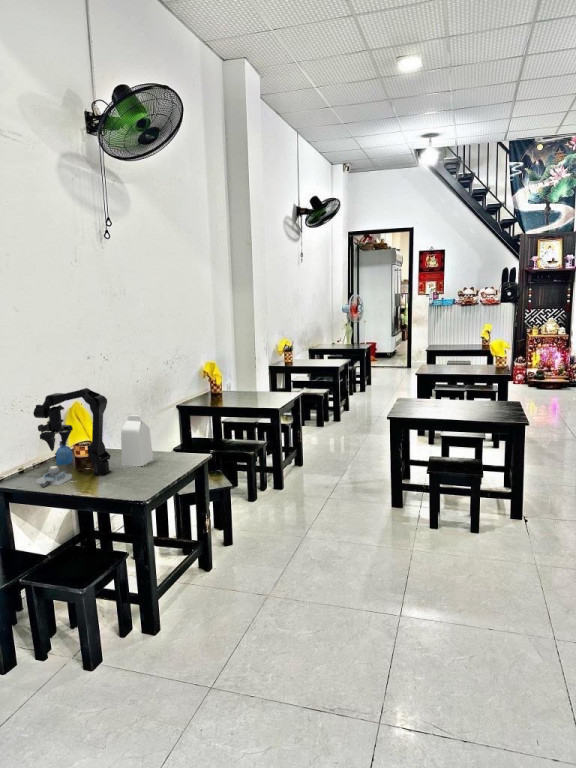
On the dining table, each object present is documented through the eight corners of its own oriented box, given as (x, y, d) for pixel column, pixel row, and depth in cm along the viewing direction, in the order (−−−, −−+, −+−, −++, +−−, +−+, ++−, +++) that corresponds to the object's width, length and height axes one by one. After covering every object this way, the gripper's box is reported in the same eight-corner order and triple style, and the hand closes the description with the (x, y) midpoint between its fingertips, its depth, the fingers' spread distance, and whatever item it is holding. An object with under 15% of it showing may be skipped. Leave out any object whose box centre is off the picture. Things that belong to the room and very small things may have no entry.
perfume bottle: (56, 464, 283) (54, 443, 281) (61, 461, 289) (59, 439, 287) (68, 464, 284) (66, 442, 281) (72, 460, 290) (70, 439, 288)
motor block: (72, 478, 262) (71, 470, 261) (53, 488, 249) (52, 480, 248) (50, 476, 265) (49, 469, 264) (31, 486, 251) (30, 478, 251)
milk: (121, 465, 280) (118, 417, 275) (134, 459, 290) (130, 412, 286) (141, 467, 276) (138, 418, 272) (153, 460, 287) (150, 413, 283)
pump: (61, 475, 260) (60, 465, 259) (55, 478, 256) (54, 468, 255) (53, 474, 261) (53, 465, 260) (47, 477, 257) (46, 467, 256)
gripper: (53, 413, 280) (56, 442, 282) (28, 422, 262) (32, 452, 264) (71, 414, 277) (74, 443, 280) (48, 423, 259) (51, 453, 262)
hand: (58, 448), depth 272 cm, fingers open, 9 cm apart
